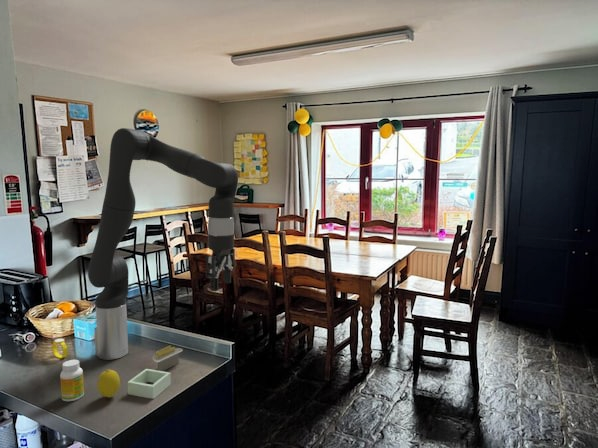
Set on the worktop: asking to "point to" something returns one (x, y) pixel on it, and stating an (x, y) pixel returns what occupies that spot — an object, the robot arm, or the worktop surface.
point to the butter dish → (167, 357)
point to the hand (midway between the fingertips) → (221, 286)
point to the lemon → (108, 383)
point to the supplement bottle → (71, 381)
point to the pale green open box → (147, 390)
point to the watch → (65, 350)
